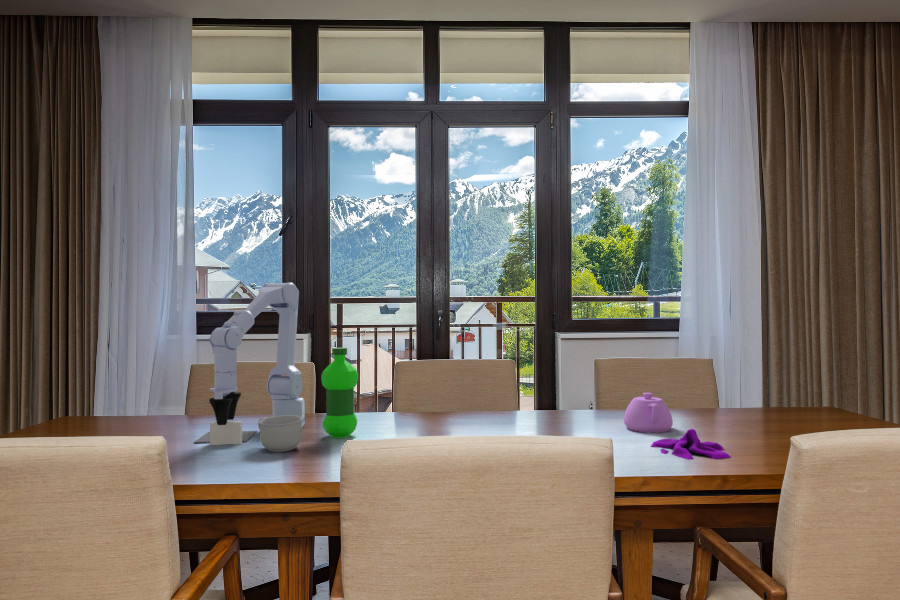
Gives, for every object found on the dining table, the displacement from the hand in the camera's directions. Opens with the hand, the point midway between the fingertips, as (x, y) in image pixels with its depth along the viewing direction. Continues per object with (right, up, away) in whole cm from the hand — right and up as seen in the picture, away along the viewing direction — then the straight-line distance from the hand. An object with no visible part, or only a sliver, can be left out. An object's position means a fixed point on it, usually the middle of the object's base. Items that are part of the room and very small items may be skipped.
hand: (225, 422), depth 170 cm
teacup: (+16, -6, -6) cm, 18 cm away
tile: (0, -6, 0) cm, 6 cm away
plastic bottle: (+29, -6, +9) cm, 31 cm away
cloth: (+121, -6, -13) cm, 121 cm away
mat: (-3, -6, +8) cm, 10 cm away
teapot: (+119, -5, +16) cm, 120 cm away
